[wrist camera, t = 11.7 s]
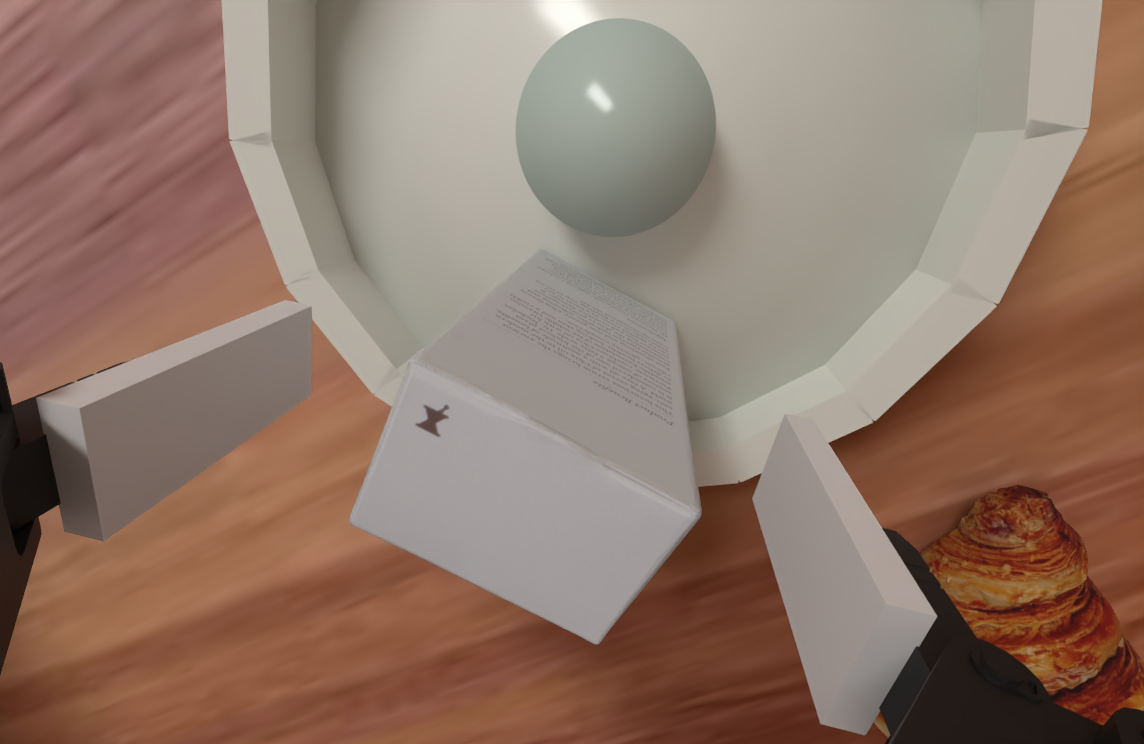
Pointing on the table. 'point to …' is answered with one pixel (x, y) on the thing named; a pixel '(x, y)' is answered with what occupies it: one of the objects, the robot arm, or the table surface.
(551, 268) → the skincare box
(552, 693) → the table surface
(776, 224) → the ring tray
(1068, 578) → the croissant
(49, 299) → the table surface
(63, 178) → the table surface
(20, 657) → the table surface
